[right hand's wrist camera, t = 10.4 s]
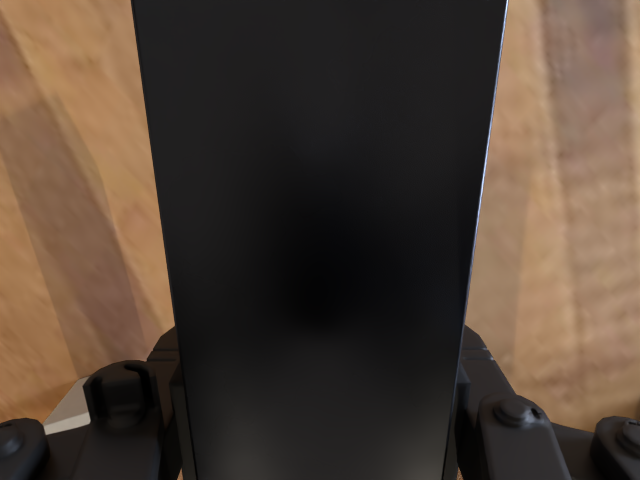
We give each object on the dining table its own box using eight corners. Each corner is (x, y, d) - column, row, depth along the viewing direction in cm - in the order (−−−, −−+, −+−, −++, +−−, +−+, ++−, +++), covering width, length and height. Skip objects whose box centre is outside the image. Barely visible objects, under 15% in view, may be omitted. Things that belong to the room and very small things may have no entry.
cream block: (133, 361, 33) (103, 407, 29) (163, 409, 35) (139, 460, 30) (77, 379, 34) (39, 427, 29) (109, 425, 36) (77, 478, 31)
